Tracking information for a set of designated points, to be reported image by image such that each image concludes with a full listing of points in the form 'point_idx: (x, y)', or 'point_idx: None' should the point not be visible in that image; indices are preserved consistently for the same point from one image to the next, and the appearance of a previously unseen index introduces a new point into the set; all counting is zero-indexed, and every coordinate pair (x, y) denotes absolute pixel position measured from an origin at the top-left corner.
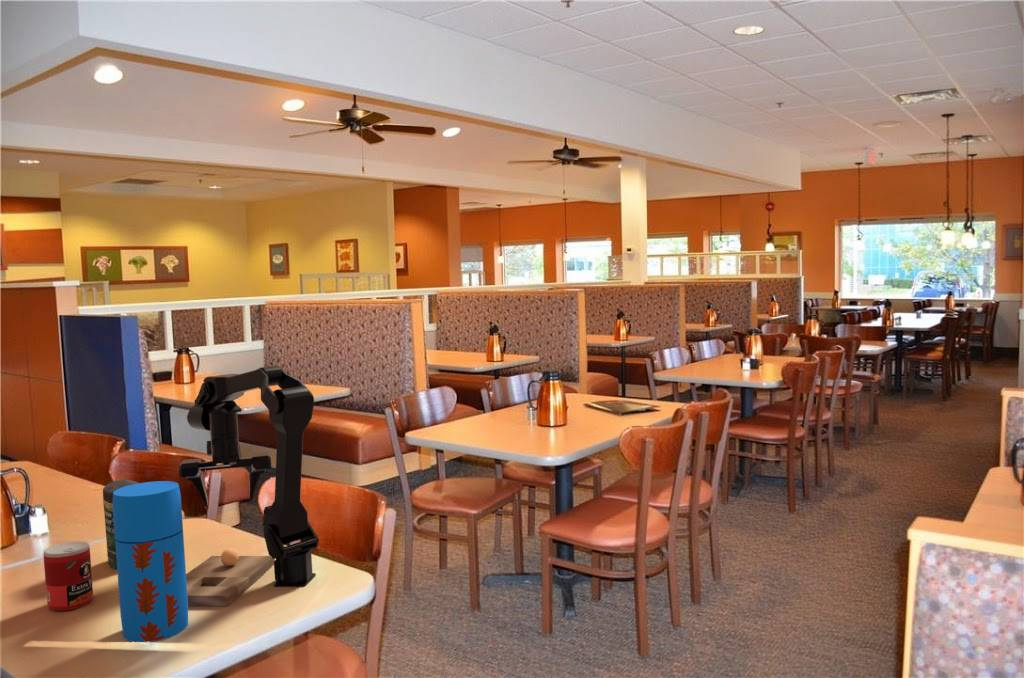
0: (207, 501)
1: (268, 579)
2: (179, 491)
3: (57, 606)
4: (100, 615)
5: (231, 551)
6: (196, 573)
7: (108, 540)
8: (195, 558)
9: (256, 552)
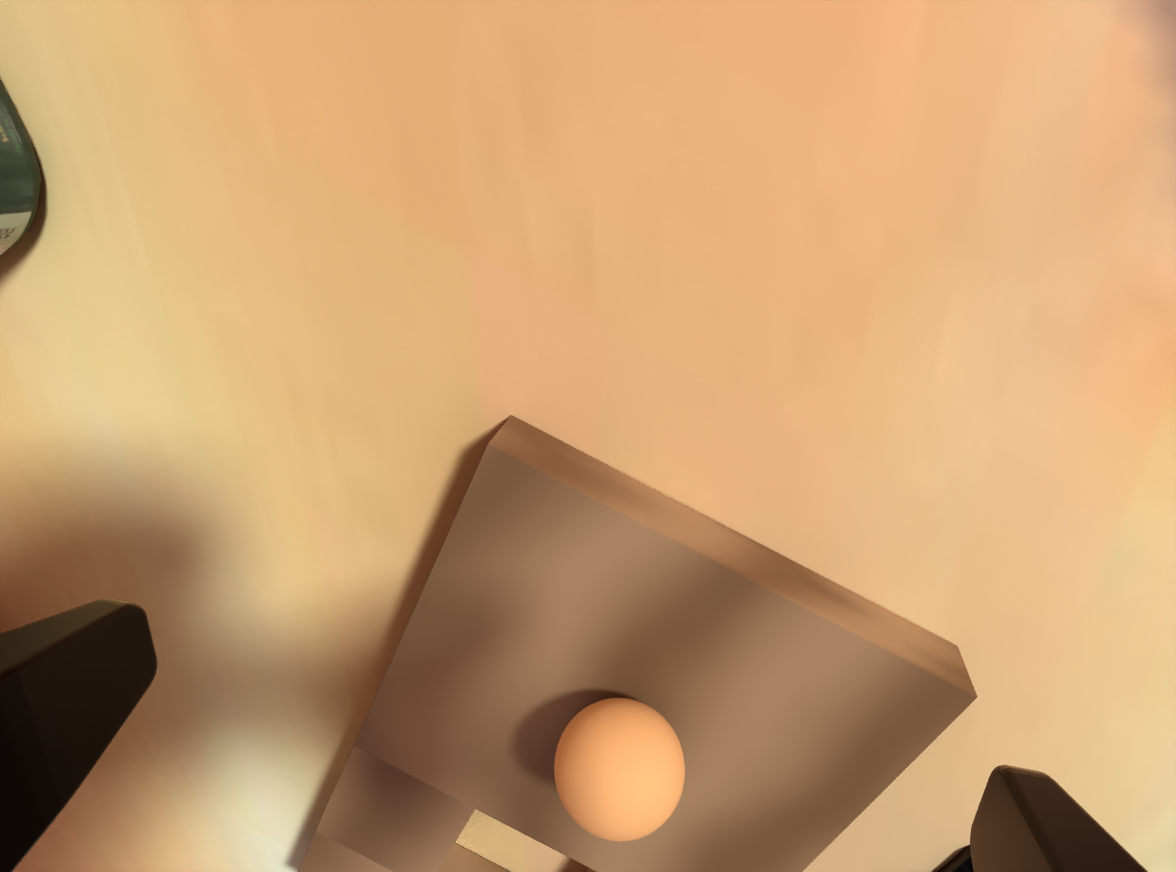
0: (88, 677)
1: (853, 844)
2: None
3: None
4: (120, 817)
5: (626, 838)
6: (427, 737)
7: None
8: (360, 166)
9: (884, 249)
